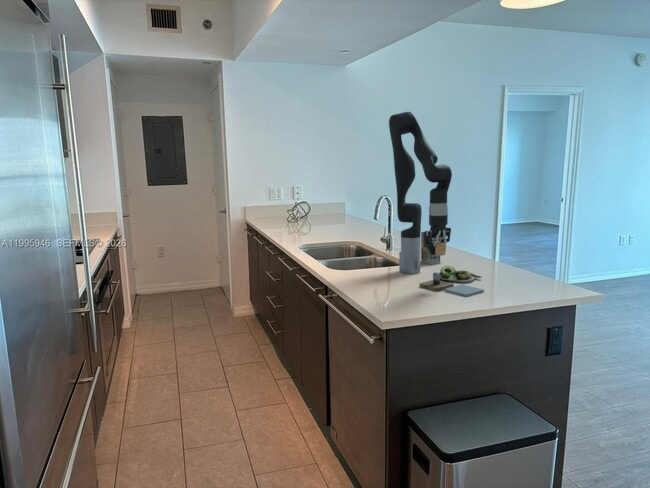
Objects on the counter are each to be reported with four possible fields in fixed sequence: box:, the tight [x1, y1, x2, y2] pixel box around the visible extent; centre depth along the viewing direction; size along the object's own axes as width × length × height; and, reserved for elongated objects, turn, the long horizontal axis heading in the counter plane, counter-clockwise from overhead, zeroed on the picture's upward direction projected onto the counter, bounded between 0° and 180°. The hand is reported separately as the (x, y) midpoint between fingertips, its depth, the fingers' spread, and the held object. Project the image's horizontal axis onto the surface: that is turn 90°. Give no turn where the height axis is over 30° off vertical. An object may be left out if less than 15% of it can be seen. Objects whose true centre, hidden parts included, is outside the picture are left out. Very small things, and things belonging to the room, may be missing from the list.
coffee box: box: [420, 231, 441, 265], centre depth 248 cm, size 9×6×16 cm
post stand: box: [419, 272, 455, 292], centre depth 201 cm, size 10×10×6 cm
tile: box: [444, 283, 485, 298], centre depth 193 cm, size 11×11×1 cm
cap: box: [432, 242, 446, 257], centre depth 198 cm, size 6×6×5 cm
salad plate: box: [439, 265, 483, 284], centre depth 215 cm, size 19×18×5 cm
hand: (437, 253), depth 199 cm, fingers closed on cap, 5 cm apart
